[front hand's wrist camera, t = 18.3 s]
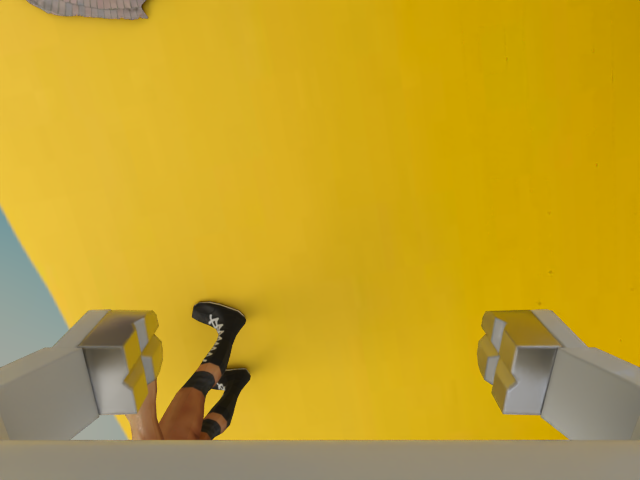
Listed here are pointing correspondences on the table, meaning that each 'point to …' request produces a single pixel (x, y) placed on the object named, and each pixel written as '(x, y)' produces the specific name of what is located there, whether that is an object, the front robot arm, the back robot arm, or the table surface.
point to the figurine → (198, 387)
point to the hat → (93, 8)
